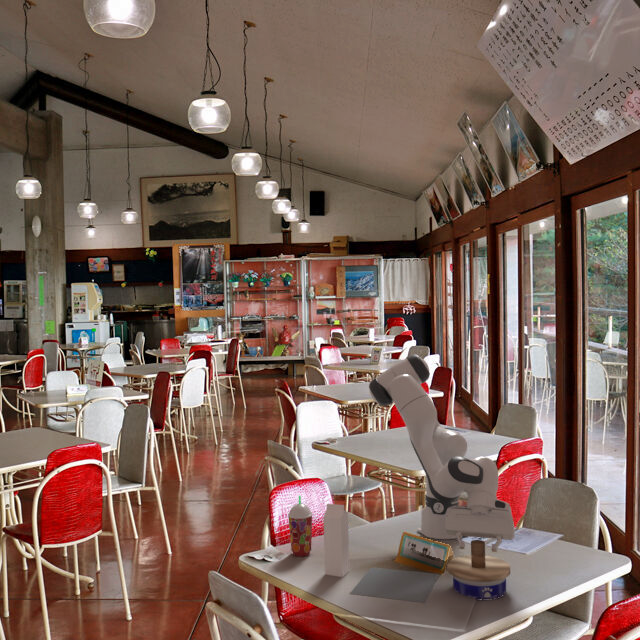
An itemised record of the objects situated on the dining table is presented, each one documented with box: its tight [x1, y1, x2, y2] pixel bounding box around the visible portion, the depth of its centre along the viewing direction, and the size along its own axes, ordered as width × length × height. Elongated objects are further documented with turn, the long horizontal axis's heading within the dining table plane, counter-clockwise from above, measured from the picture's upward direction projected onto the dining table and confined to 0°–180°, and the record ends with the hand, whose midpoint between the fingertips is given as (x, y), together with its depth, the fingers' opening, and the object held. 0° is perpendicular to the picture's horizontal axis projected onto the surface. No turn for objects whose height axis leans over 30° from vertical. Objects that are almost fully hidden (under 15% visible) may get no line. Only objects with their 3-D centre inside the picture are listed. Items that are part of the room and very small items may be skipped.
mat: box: [349, 566, 441, 604], centre depth 210 cm, size 22×22×1 cm
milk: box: [322, 503, 351, 578], centre depth 221 cm, size 6×6×22 cm
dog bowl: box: [452, 575, 507, 601], centre depth 206 cm, size 15×15×6 cm
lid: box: [446, 539, 511, 582], centre depth 206 cm, size 18×18×8 cm
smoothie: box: [287, 495, 313, 557], centre depth 241 cm, size 8×8×20 cm
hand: (477, 549), depth 205 cm, fingers open, 8 cm apart
